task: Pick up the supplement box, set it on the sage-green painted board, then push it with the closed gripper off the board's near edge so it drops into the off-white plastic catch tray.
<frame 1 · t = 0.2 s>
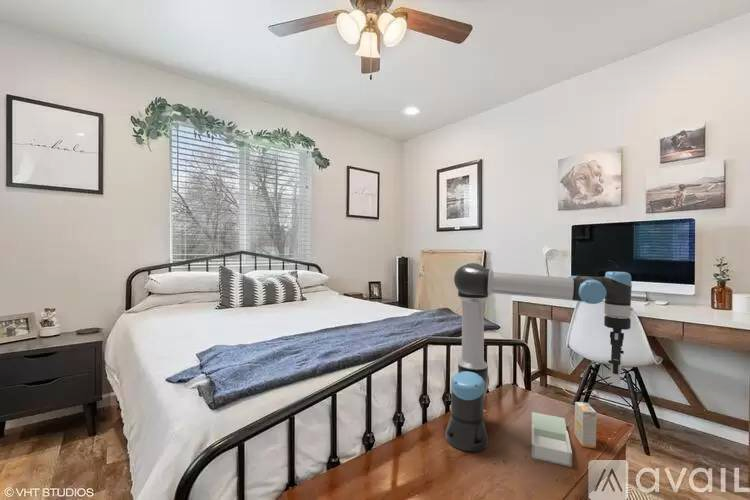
hand: (615, 377, 122), 27 cm above the bench, fingers open, 13 cm apart
catch tray: (550, 450, 124), on the bench
board: (548, 430, 137), on the bench
supplement box: (584, 442, 130), on the bench
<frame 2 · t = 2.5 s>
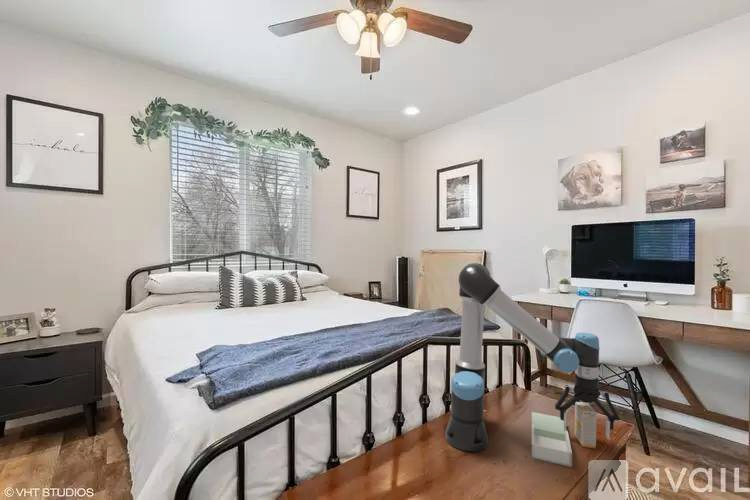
hand: (585, 433, 129), 3 cm above the bench, fingers open, 13 cm apart
nothing on the bench moved.
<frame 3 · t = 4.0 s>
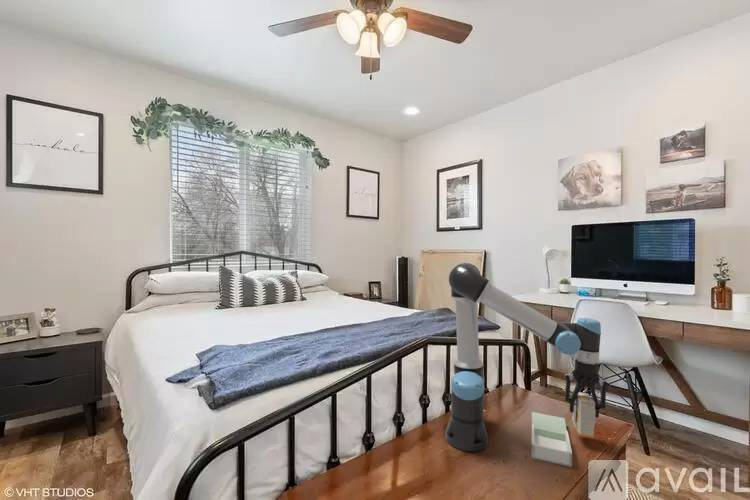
hand: (583, 423, 130), 7 cm above the bench, fingers closed on supplement box, 5 cm apart
supplement box: (583, 432, 130), point 3 cm above the bench, touching gripper
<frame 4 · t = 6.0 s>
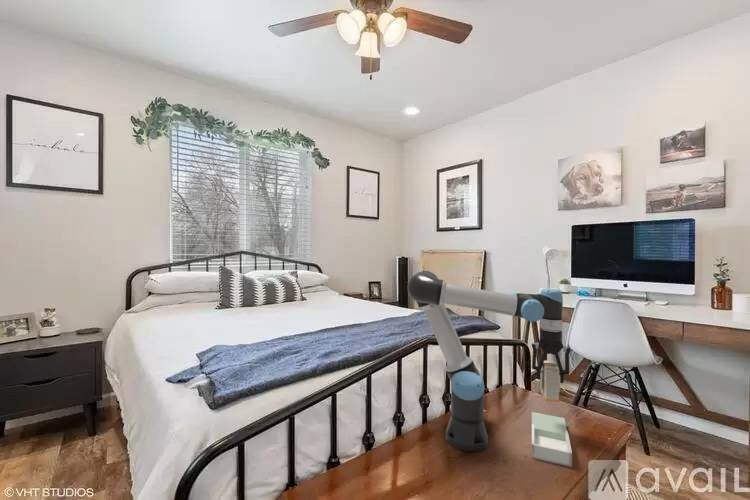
hand: (549, 389, 135), 17 cm above the bench, fingers closed on supplement box, 5 cm apart
supplement box: (549, 398, 135), point 14 cm above the bench, touching gripper
when the fingers open (5 cm above the bench, at t = 8.3 s): supplement box stays where it is, resting on board.
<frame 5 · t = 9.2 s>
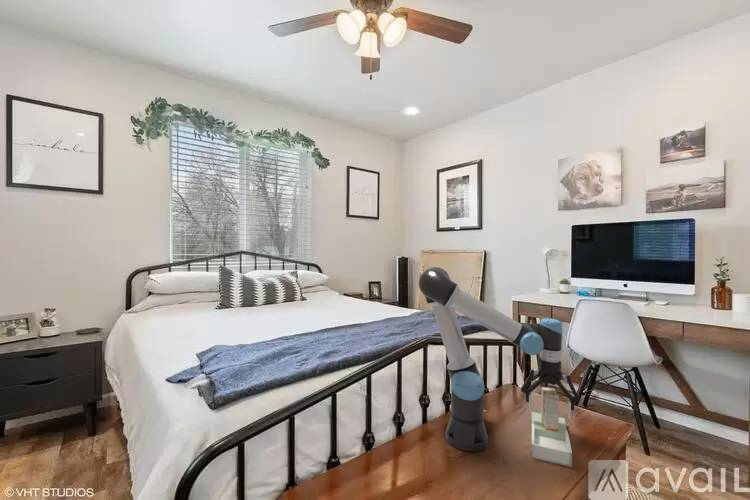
hand: (549, 414, 135), 7 cm above the bench, fingers open, 13 cm apart
supplement box: (549, 425, 135), point 3 cm above the bench, touching board
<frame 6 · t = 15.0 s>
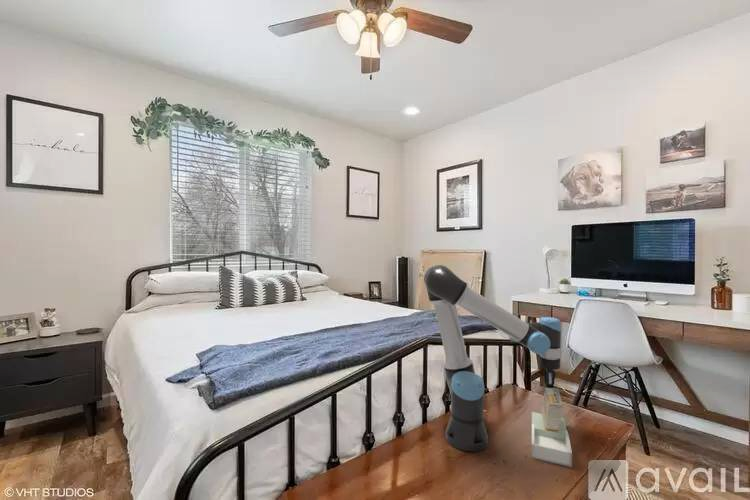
hand: (548, 415, 140), 5 cm above the bench, fingers closed
supplement box: (549, 421, 135), point 4 cm above the bench, touching board, gripper, hand
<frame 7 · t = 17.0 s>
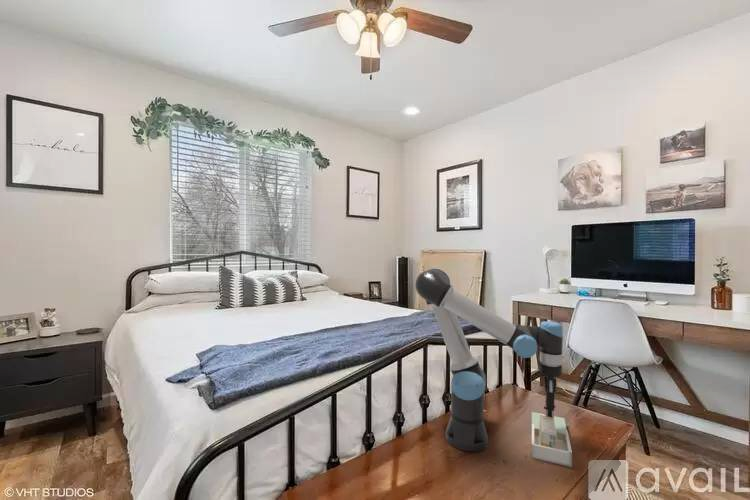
hand: (549, 425, 132), 4 cm above the bench, fingers closed
supplement box: (546, 426, 131), point 5 cm above the bench, touching catch tray, gripper
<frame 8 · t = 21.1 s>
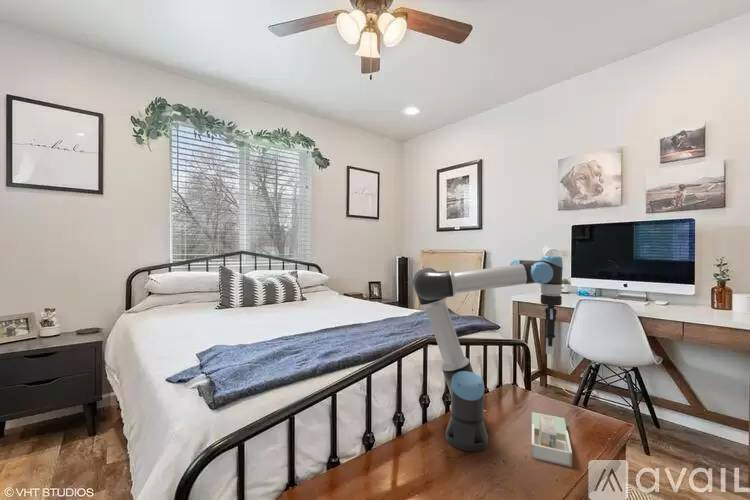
hand: (549, 353, 140), 29 cm above the bench, fingers closed
supplement box: (546, 426, 131), point 5 cm above the bench, touching catch tray
at the end: supplement box inside the target area (7.5 cm from its centre), point 4.7 cm above the bench; supplement box moved 14.5 cm from its start; the gripper is holding nothing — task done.
